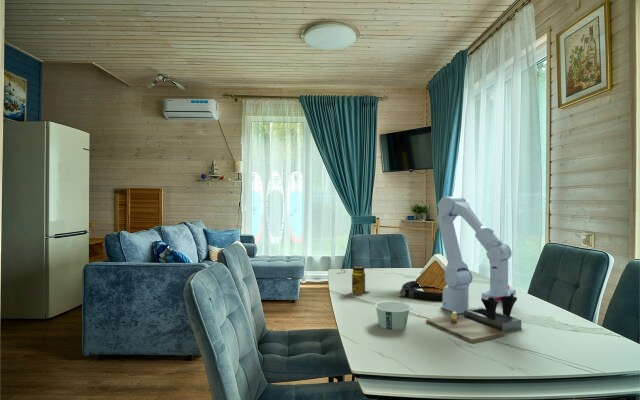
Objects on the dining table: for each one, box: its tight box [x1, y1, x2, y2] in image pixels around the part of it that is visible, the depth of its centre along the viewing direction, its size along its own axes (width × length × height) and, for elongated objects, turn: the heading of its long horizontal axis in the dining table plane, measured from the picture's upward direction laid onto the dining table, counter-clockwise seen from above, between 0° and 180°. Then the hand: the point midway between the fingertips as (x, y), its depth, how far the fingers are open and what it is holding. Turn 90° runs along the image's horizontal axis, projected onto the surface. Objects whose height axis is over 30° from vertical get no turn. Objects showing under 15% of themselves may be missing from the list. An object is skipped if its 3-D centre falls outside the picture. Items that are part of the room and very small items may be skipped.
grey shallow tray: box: [463, 306, 522, 333], centre depth 127 cm, size 16×9×3 cm, turn 25°
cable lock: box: [399, 280, 443, 302], centre depth 168 cm, size 28×4×30 cm
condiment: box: [348, 266, 371, 296], centre depth 169 cm, size 7×8×12 cm
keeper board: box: [425, 311, 506, 344], centre depth 121 cm, size 20×14×4 cm
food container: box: [374, 300, 411, 331], centre depth 125 cm, size 12×12×7 cm
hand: (499, 317), depth 128 cm, fingers open, 7 cm apart
